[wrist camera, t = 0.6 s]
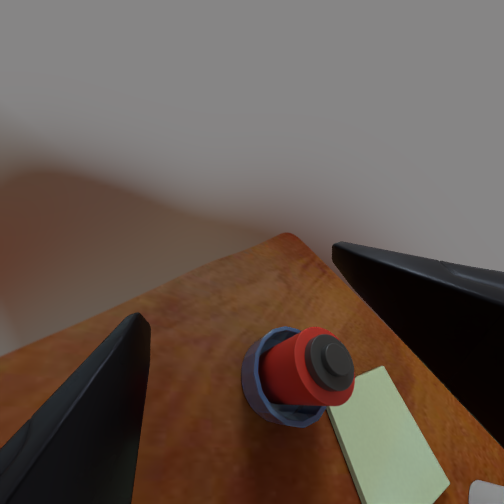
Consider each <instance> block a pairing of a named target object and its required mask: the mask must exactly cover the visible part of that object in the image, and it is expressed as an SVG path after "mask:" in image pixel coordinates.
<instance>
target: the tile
mask: <svg viewBox="0 0 504 504" xmlns="http://www.w3.org/2000/svg"><path fill="white" fill-rule="evenodd" d="M326 410H327V412H328V415H329V418H330V420H331V423H332V426H333V428H334V431H335V434H336V436H337V439H338V442H339V444H340V447H341V450H342V452H343V455H344V458H345V460H346V463H347V465H348V468H349V471H350V473H351V476H352V479H353V481H354V484H355V487H356V489H357V492H358V495H359V497H360V500H361V503H362V504H433V503H434V502H435V501H436V499H437V498H438V497H439V496H440V495H441V494H442V492H443V491H444V490H445V489H446V488H447V487H448V486H449V484H450V482H449V480H448V479H447V477H446V475H445V473H444V472H443V470H442V468H441V466H440V465H439V463H438V461H437V459H436V458H435V456H434V454H433V452H432V450H431V449H430V447H429V445H428V443H427V442H426V440H425V438H424V436H423V435H422V433H421V431H420V429H419V428H418V426H417V424H416V422H415V421H414V419H413V417H412V415H411V414H410V412H409V410H408V408H407V407H406V405H405V403H404V401H403V399H402V398H401V396H400V394H399V392H398V391H397V389H396V387H395V385H394V384H393V382H392V380H391V378H390V377H389V375H388V373H387V371H386V370H385V368H384V366H379V367H376V368H374V369H372V370H369V371H367V372H365V373H363V374H360V375H358V376H356V377H355V385H354V390H353V393H352V395H351V397H350V398H349V400H348V401H347V402H346V403H344V404H343V405H340V406H327V407H326Z"/></svg>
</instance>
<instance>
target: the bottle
mask: <svg viewBox="0 0 504 504" xmlns="http://www.w3.org/2000/svg"><path fill="white" fill-rule="evenodd" d="M258 375H259V379H260V383H261V387H262V391H263V393H264V395H265V396H266V398H267V400H268V401H269V402H271V403H274V404H284V405H311V406H340V405H343V404H344V403H346V402H347V401H348V400H349V398H350V397H351V395H352V393H353V390H354V385H355V373H354V366H353V362H352V359H351V356H350V354H349V352H348V350H347V349H346V347H345V346H344V345H343V344H342V343H341V341H340V340H339V339H338V338H337V337H336V336H335V335H334V334H332V333H331V332H329V331H328V330H326V329H323V328H320V327H310V328H307V329H305V330H303V331H301V332H300V333H298V334H296V335H294V336H292V337H290V338H288V339H287V340H285V341H283V342H281V343H279V344H277V345H275V346H274V347H272V348H270V349H268V350H266V351H264V352H263V353H262V354H261V355H260V357H259V364H258Z"/></svg>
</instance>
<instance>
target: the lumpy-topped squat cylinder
mask: <svg viewBox="0 0 504 504" xmlns="http://www.w3.org/2000/svg"><path fill="white" fill-rule="evenodd" d="M469 504H504V487H503V486H499V485H496V484H492V483H488V482H484V481H480V480H476V481H474V482H473V483H472V484H471V486H470V491H469Z"/></svg>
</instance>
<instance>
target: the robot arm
mask: <svg viewBox="0 0 504 504" xmlns="http://www.w3.org/2000/svg"><path fill="white" fill-rule="evenodd" d="M332 260H333V263H334V264H335V266H336V267H337V268H338V269H339V271H340V272H341V273H342V275H343V276H344V277H345V279H346V280H347V281H348V283H349V284H350V285H351V286H352V287H353V289H354V290H355V291H356V292H357V293H358V294H359V295H360V296H361V297H362V298H363V300H364V301H366V303H367V304H368V305H369V306H370V307H371V308H372V309H373V310H374V311H375V312H376V313H377V314H378V315H379V317H380V318H381V319H382V320H384V322H385V323H386V324H387V325H388V326H389V327H390V328H391V329H392V330H393V331H394V332H395V334H396V335H397V336H398V337H399V338H400V339H401V340H402V341H403V342H404V343H405V344H406V345H407V346H408V347H409V348H410V349H411V351H412V352H413V353H414V354H415V355H416V356H417V357H418V358H419V359H420V360H421V361H422V362H423V363H424V364H425V365H426V367H427V368H428V369H429V370H430V371H431V372H432V373H433V374H434V375H435V376H436V377H437V378H438V379H439V380H440V381H441V382H442V383H443V384H444V386H445V387H446V388H447V389H448V390H449V391H450V392H451V393H452V394H453V395H454V397H455V398H456V399H457V400H458V401H459V402H460V403H461V404H462V405H463V406H464V407H465V408H466V409H467V410H468V411H469V412H470V413H471V415H472V416H473V417H474V418H475V419H476V420H477V421H478V422H479V423H480V424H481V425H482V426H483V427H484V428H485V429H486V430H487V432H488V433H489V434H490V435H491V436H492V437H493V438H494V439H495V440H496V441H497V442H498V443H499V444H500V445H501V446H502V447H503V449H504V272H501V271H495V270H489V269H482V268H476V267H471V266H465V265H460V264H454V263H449V262H444V261H438V260H434V259H428V258H424V257H418V256H413V255H408V254H403V253H398V252H393V251H388V250H383V249H378V248H373V247H367V246H362V245H357V244H352V243H347V242H338V243H335V244H333V246H332ZM150 339H151V327H150V325H149V323H148V322H147V321H146V319H145V318H144V317H143V316H142V315H141V314H140V313H134V314H131V315H129V316H127V317H126V318H125V319H124V320H123V321H122V322H121V323H120V324H119V325H118V326H117V327H116V328H115V329H114V330H113V332H112V333H111V334H110V335H109V336H108V337H107V338H106V339H105V340H104V341H103V342H102V343H101V344H100V345H99V346H98V347H97V348H96V349H95V350H94V351H93V353H92V354H91V355H90V356H89V357H88V358H87V359H86V360H85V361H84V362H83V363H82V364H81V365H80V366H79V367H78V368H77V369H76V370H75V371H74V372H73V374H72V375H71V376H70V377H69V378H68V379H67V380H66V381H65V382H64V383H63V384H62V385H61V386H60V387H59V388H58V389H57V390H56V391H55V392H54V393H53V395H52V396H51V397H50V398H49V399H48V400H47V401H46V402H45V403H44V404H43V405H42V406H41V407H40V408H39V409H38V410H37V411H36V412H35V413H34V414H33V416H32V417H31V419H29V420H28V421H27V422H26V423H25V424H24V425H23V426H22V427H21V428H20V429H19V430H18V431H17V432H16V433H15V434H14V435H13V436H12V438H11V439H10V440H9V441H8V442H7V443H6V444H5V445H4V446H3V447H2V448H1V449H0V504H131V501H132V493H133V486H134V478H135V471H136V463H137V456H138V449H139V441H140V434H141V426H142V419H143V411H144V404H145V397H146V389H147V382H148V374H149V366H150Z"/></svg>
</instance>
